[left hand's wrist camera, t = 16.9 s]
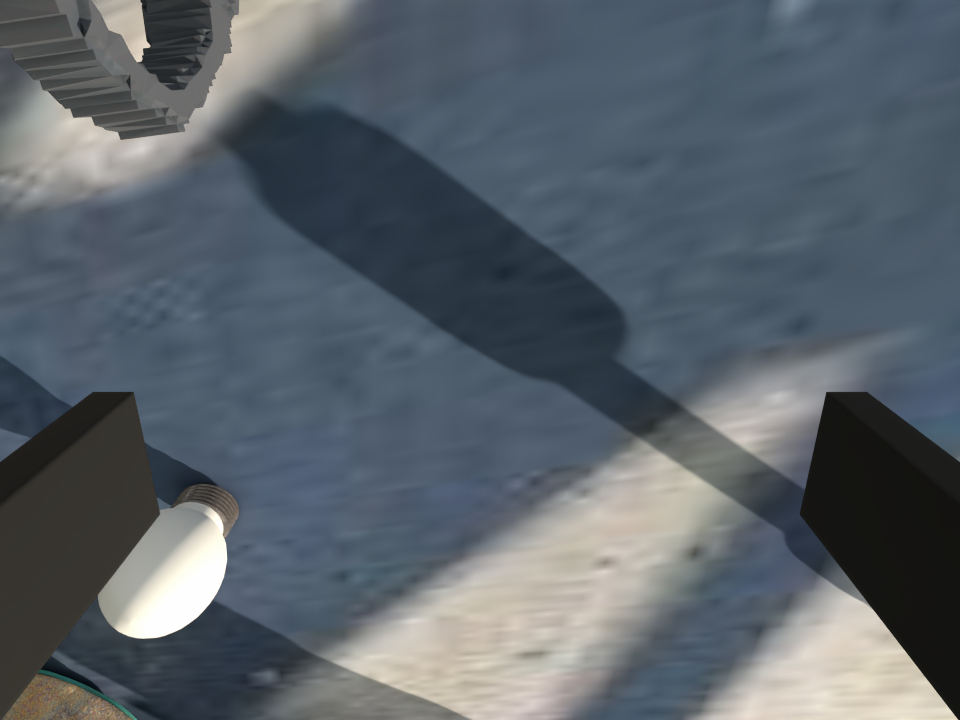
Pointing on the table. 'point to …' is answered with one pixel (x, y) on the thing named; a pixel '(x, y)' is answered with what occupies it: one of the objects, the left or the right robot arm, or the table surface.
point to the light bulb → (172, 566)
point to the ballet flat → (64, 701)
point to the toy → (121, 59)
